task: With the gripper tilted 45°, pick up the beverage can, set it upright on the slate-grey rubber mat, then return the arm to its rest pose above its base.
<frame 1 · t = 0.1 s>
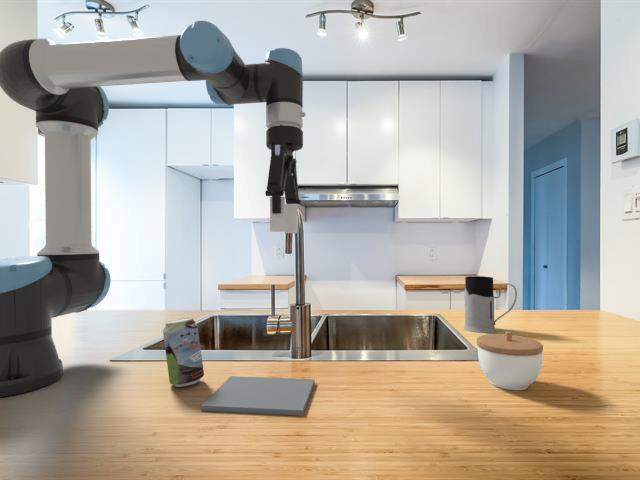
hand: (285, 232, 80), 28 cm above the table, tool pointing down, fingers open, 13 cm apart
rubber mat: (262, 396, 66), on the table
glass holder: (489, 331, 111), on the table
beverage can: (184, 384, 72), on the table
lidded jar: (509, 385, 70), on the table
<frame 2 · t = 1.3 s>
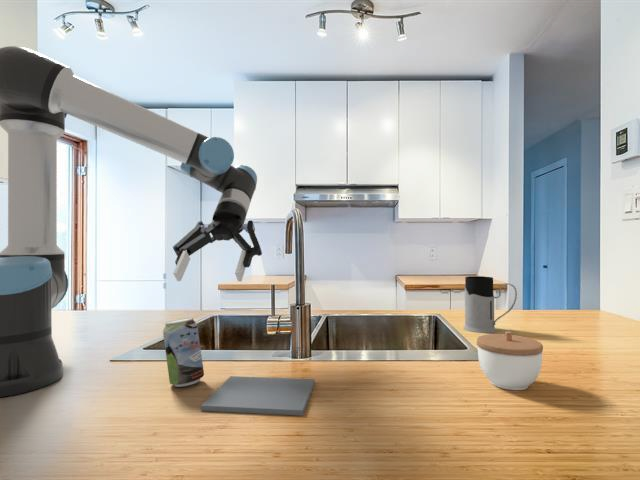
hand: (207, 277, 82), 19 cm above the table, tool tilted 45°, fingers open, 13 cm apart
nothing on the table moved.
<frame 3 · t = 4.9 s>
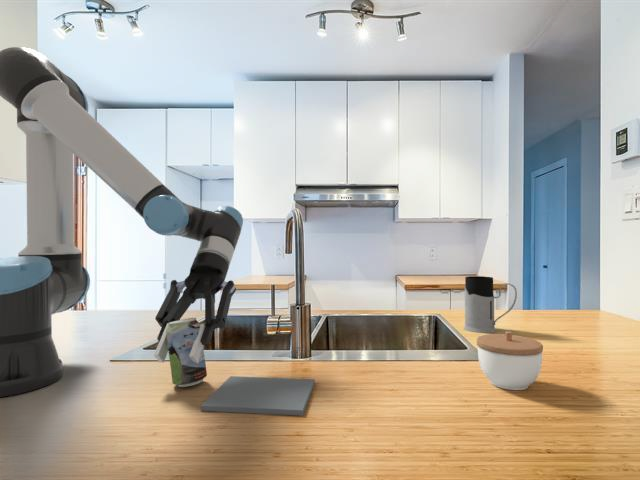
hand: (176, 359, 69), 5 cm above the table, tool tilted 45°, fingers closed on beverage can, 6 cm apart
beverage can: (186, 385, 71), on the table, touching gripper
everything else where it was.
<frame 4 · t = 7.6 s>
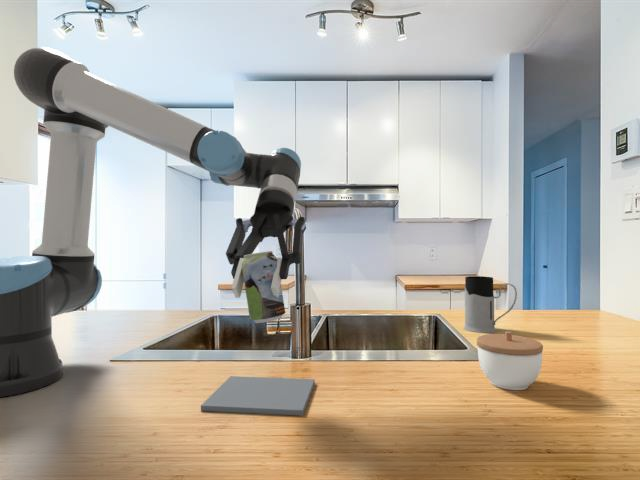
hand: (255, 292, 63), 18 cm above the table, tool tilted 45°, fingers closed on beverage can, 6 cm apart
beverage can: (264, 322, 66), point 12 cm above the table, touching gripper
everything else where it was.
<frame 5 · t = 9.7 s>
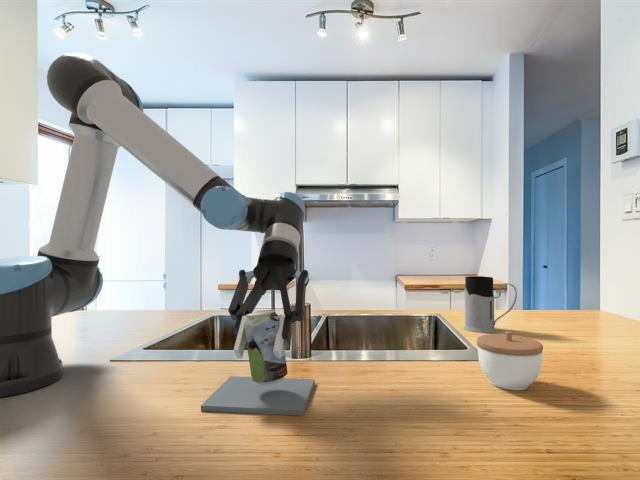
hand: (257, 354, 63), 8 cm above the table, tool tilted 45°, fingers closed on beverage can, 6 cm apart
beverage can: (266, 382, 65), point 2 cm above the table, touching gripper
everything else where it was.
when the fingers open (8 cm above the table, at t = 10.2 s): beverage can drops 2 cm, resting on rubber mat.
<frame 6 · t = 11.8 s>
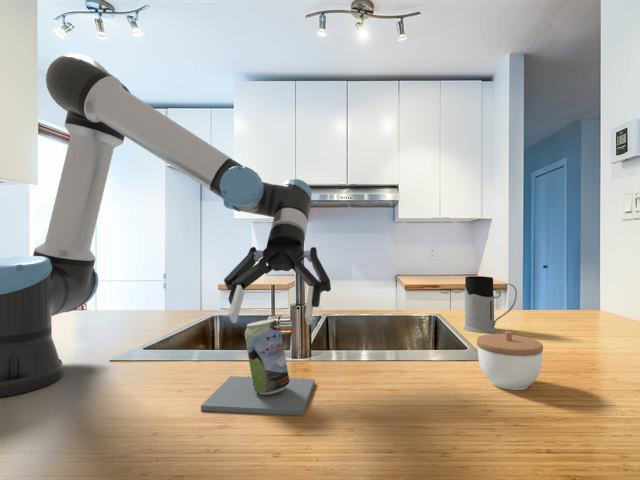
hand: (269, 320, 68), 12 cm above the table, tool tilted 45°, fingers open, 13 cm apart
beverage can: (268, 392, 65), point 1 cm above the table, touching rubber mat
everything else where it was.
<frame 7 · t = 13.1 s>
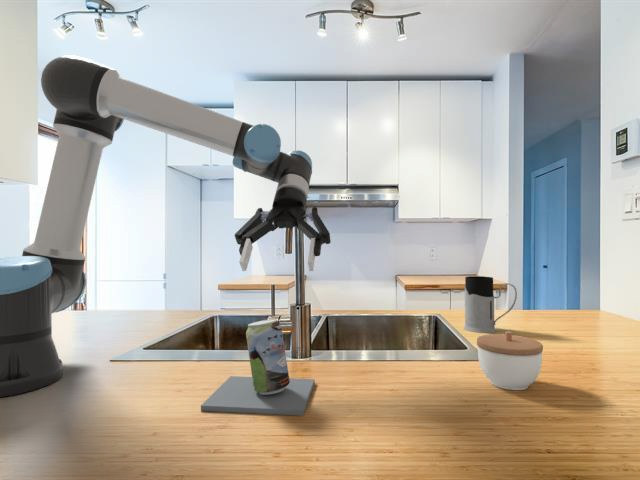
hand: (276, 266, 76), 21 cm above the table, tool tilted 45°, fingers open, 13 cm apart
nothing on the table moved.
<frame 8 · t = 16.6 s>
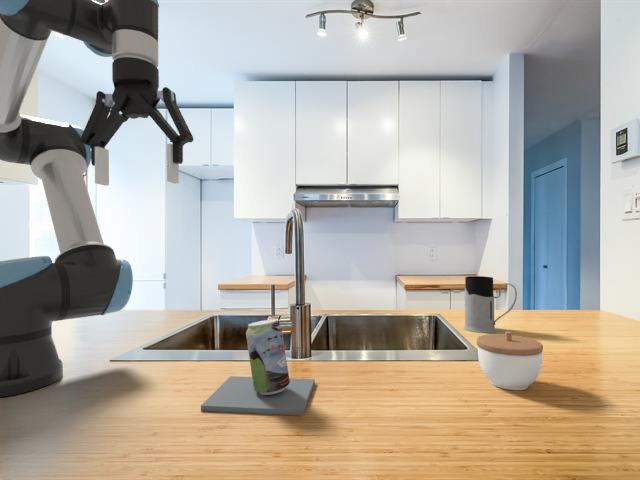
hand: (137, 183, 69), 37 cm above the table, tool pointing down, fingers open, 13 cm apart
nothing on the table moved.
at the end: beverage can inside the target area on the rubber mat (1.0 cm from its centre), point 0.6 cm above the rubber mat's base; beverage can tilted 0°; the gripper is holding nothing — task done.
